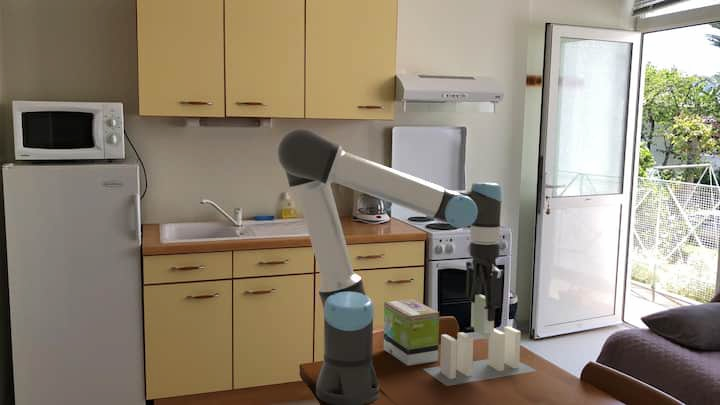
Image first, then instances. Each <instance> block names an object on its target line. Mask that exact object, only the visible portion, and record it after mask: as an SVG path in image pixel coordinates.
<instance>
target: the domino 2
mask: <svg viewBox="0 0 720 405" xmlns="http://www.w3.org/2000/svg"><path fill="white" fill-rule="evenodd" d="M456 336H457V338H456V340H457V350H456V370H458V371H459V372H461V373H463V374H464V375H466V376H472V364H473V361H474V357H473V356H474V337H473V336H470V335H469V334H467V333H465V332H464V331H463V332H462V331H461V332H457V335H456Z"/></svg>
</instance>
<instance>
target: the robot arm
mask: <svg viewBox="0 0 720 405" xmlns="http://www.w3.org/2000/svg"><path fill="white" fill-rule="evenodd" d="M277 157H278V161H279V163H280V165H281V167H282V168H283V170H284V172H285V174H286V179H287V182H288V185H289V186H288V187H289V188H290V190H293V191H294V192H296V193H297V195H298V200H299V203H300V206H301V210H302V214H303V218H304V220H305V225H306V228H307V232H308V236H309V238H310V243H311V247H312V250H313V254H314V257H315V261H316V265H317V268H318V272H319V276H320V279H321V282H320V284H319V286H318V287H317V290H318V294H319V298H320V300H321V305H322V309H323V318H324V319H323V321H324V322H323V324H324V325H323V363H322V366H321V368H320V371H319V374H318V377H317V380H316V385H315V394H316V397H317V398H318V399H319V400H320V401H322V402H324V403H326V404H330V405H366V404H370V403H372V402H374V401H375V400H377V398H378V397H379V394H380V383H379V379H378V377H377V374H376V370H375V367H374V364H373V347H374V346H373V342H374V340H373V335H374V334H373V333H374V332H373V331H374V316H375V311H374V310H375V309H374V302H373V301H372V299H371V298H370V297H369V296H367V295H366V290H365V287H364V283H363V279H362V277H361V275H359V274H357V273H355V272H354V268H353V265H352V261H351V258H350V254H349V249H348V246H347V242H346V237H345V234H344V232H343V231H344V230H343V227H342V223H341V220H340V217H339V212H338V208H337V205H336V202H335V198H334V194H333V191H332V186H331V184H332V183H334V184H338V185H341V186H344V187H347V188H349V189H352V190H355V191H357V192H360V193H363V194H366V195H369V196H372V197H375V198H377V199H380V200H382V201H386V202H387V203H390V204H394V205H397V206H400V207H403V208H405V209H408V210H411V211H414V212H416V213H419V214H422V215H425V216H426V218H427V219H429V220H436V221H441V222H443V223H446V224H449V225H450V226H452V227H454V228H458V229H463V228H468V227H470V230H469V231H470V232H469V233H470V234H469V235H470V236H469V239H470V241H471V242H470V244H469V256H470V257H471V258H472V260H471V261H466V262H465V267H466V285H465V286H466V287H465V288H466V289H465V297H466V298H467V299H469V301H470V313H471V316H470V317H471V318H470V327H472V328H474V323H475V295H477V294H481V295H482V290H484V296H485V300H486V307H484V327H483V333H491V332H494V328H495V319H496V309H498V308H501V307H502V295H503V294H502V289H503V276H504V269H499V268H498V267H497V262H496V261H497V259H498V258H499V257H500V247H501V245H500V244H499V242H500V237H501V215H502V214H501V212H502V201H503V200H502V187H501V185H500V184H499V183H496V182H486V181H485V182H483V181H482V182H474V183H472V185H471V187H470V189H469V190H455V189H452V190H451V189H448V188H444V187H442V186H440V185H438V184H434V183H431V182H428V181H425V180H424V179H421V178H418V177H415V176H412V175H410V174H407V173H404V172H401V171H398V170H395V169H393V168H391V167H388V166H385V165H382V164H379V163H376V162H374V161H371V160H369V159H365V158H362V157H360V156H357V155H355V154H352V153H350V152H347V151H344V150H343V147H342V146H341V145H340V144H337V143H334V142H332V141H330V140H328V139H326V138H324V137H323V136H322V135H320V134H319V133H318V132H316V131H314V130H312V129H308V128H297V129H293V130H290V131H288V132H287V133H286V134H285V135H284V136H283V137H282V138H281V140H280V142H279V144H278V148H277ZM490 303H491V304H490Z"/></svg>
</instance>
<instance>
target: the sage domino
mask: <svg viewBox="0 0 720 405" xmlns="http://www.w3.org/2000/svg"><path fill="white" fill-rule="evenodd" d="M490 304H491V303H490ZM484 307H486V300H485V294H484V295H483V294H482V293H481V294H477V295H475V323H474V327H473V330H474V332H475V333H476V334H479V335H481V336H482V337H488V338H489V336H490V333H483V327H484Z"/></svg>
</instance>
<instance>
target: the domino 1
mask: <svg viewBox="0 0 720 405" xmlns="http://www.w3.org/2000/svg"><path fill="white" fill-rule="evenodd" d="M439 358H440V361H439V362H440V364H439V366H440V372H441V373H442V374H444V375H445V376H447V377H448V378H449V379H453V378H456V364H457V338H456V339H455V338H454V337H452V336H450V335H449V334H441V335H440V357H439Z"/></svg>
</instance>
